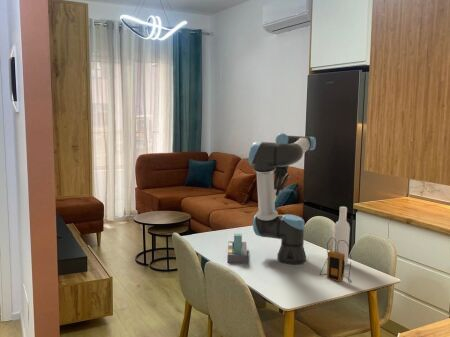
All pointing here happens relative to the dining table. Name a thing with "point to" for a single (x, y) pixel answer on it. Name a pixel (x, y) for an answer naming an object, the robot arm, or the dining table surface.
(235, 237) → the switch knob
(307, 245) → the dining table surface
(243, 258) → the switch housing
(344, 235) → the bottle
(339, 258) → the multimeter
